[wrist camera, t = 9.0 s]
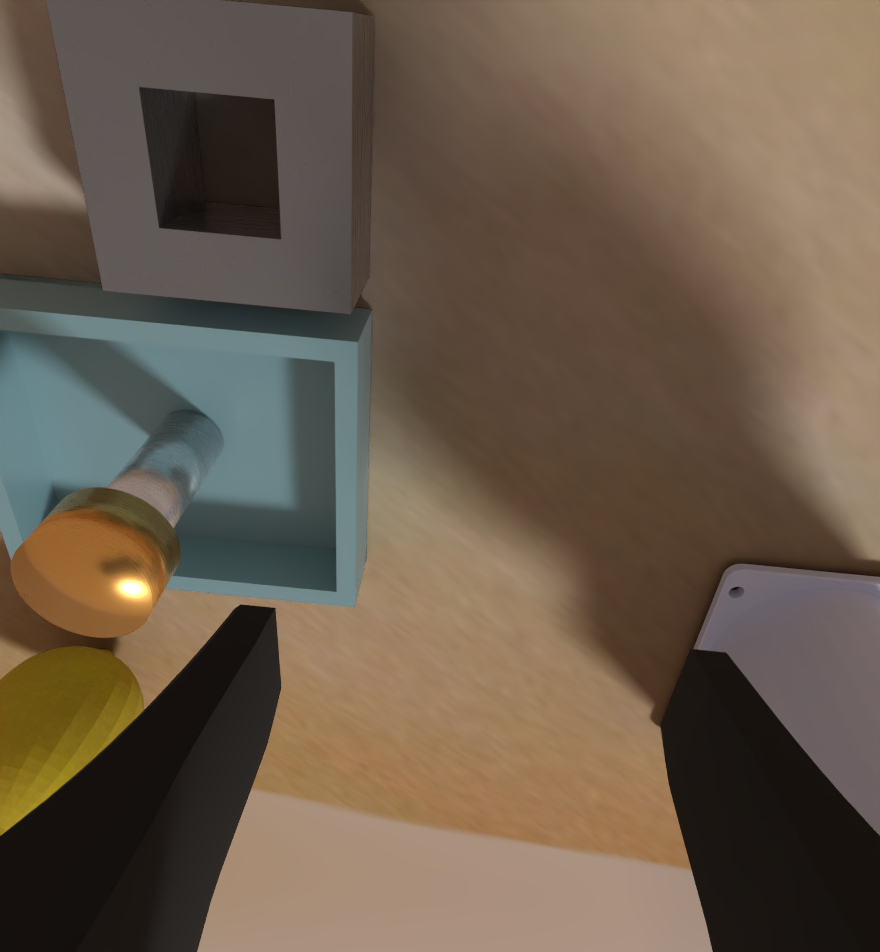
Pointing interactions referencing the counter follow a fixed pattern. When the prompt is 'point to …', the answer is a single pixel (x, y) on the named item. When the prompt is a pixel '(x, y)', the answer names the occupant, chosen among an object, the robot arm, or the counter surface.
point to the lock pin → (118, 535)
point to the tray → (211, 393)
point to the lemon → (59, 721)
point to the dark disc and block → (178, 154)
